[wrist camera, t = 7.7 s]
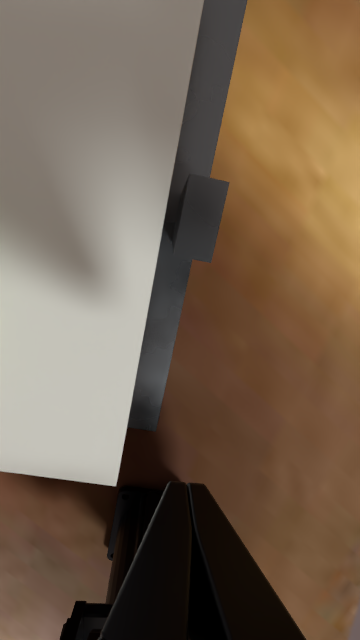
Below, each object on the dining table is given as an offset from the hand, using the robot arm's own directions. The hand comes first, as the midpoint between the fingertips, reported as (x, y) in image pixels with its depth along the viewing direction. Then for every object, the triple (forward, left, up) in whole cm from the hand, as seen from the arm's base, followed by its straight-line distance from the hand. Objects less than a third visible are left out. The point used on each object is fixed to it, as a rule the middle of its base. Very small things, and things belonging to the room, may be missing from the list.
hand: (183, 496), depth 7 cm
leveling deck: (+6, +8, -6) cm, 12 cm away
